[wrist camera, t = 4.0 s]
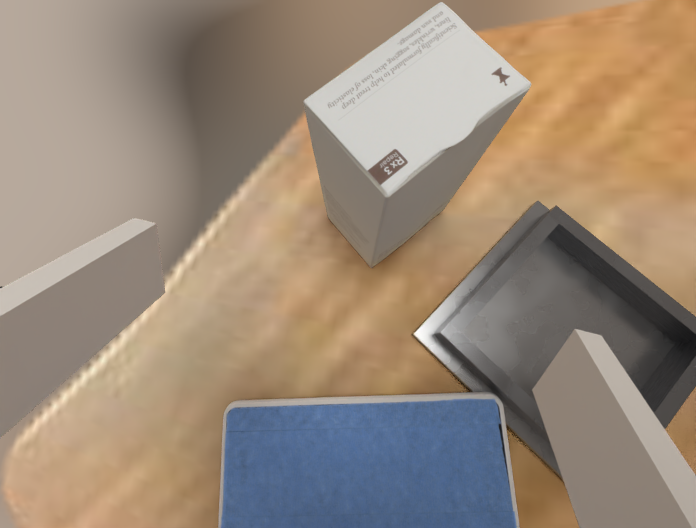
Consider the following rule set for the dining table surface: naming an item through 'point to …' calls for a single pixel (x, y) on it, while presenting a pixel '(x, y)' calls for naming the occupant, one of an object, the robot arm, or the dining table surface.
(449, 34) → the skincare box
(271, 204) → the dining table surface
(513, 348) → the square metal tray
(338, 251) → the dining table surface
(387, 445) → the tablet computer
